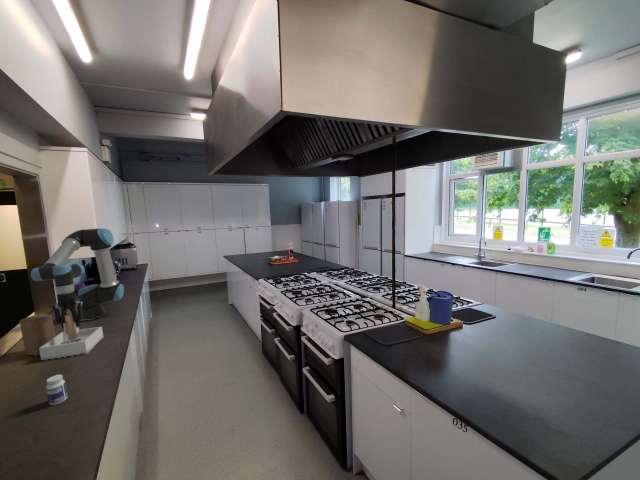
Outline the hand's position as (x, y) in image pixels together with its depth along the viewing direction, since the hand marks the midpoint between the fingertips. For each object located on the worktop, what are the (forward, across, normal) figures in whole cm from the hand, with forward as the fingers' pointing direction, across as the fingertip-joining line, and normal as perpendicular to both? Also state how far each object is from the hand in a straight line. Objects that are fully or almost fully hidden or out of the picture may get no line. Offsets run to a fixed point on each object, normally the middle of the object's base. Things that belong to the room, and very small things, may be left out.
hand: (72, 333), depth 160 cm
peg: (+3, 0, 0) cm, 3 cm away
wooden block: (+9, -17, +3) cm, 19 cm away
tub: (+9, 0, 0) cm, 9 cm away
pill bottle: (+10, +18, -52) cm, 56 cm away
